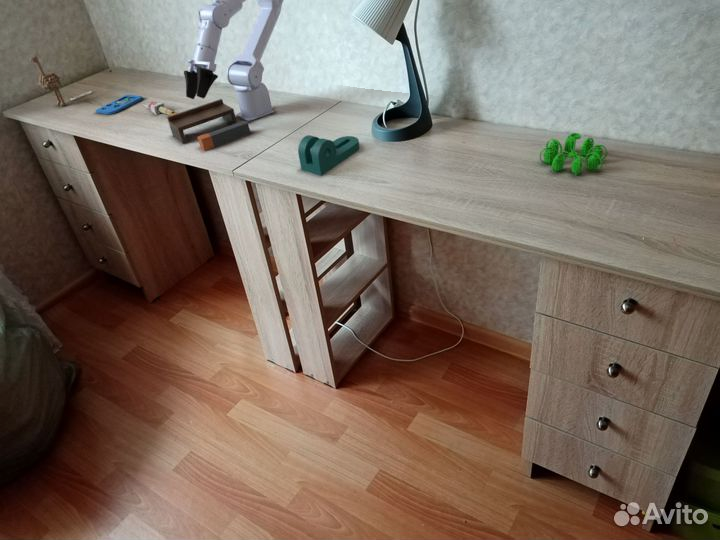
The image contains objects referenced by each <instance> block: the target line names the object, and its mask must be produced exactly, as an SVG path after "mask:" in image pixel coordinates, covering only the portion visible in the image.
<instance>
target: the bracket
mask: <svg viewBox="0 0 720 540" xmlns="http://www.w3.org/2000/svg"><path fill="white" fill-rule="evenodd" d="M359 150H360V139H359V138H358V137H356V136H352V135H345V136H341V137H338V138H336V139H334V140H331V139H326V138H322V137H321V138H320V137H318V136H315V135H309V134H307V135H305V136H303V137H302V139H301V140H300V142H299V144H298V149H297V153H298V154H297V155H298V160H299V165H300V170H301V171H302V172H307V173H311V174H314V175H317V176H321V177H322V176H324V175H325V174H326V173H329V172H330V171H331V170H332V169H333V168H335V167H337V166H338V165H340V164H341V163H343V162H344V161H346V160H347V159H349V158H350V157H351V156H353V155H354V154H356V153H358V152H359Z"/></svg>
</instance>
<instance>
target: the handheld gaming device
mask: <svg viewBox="0 0 720 540" xmlns="http://www.w3.org/2000/svg"><path fill="white" fill-rule="evenodd" d="M143 99H144V98H143V96H142V95H135V94H124V95H123V96H121V97H119V98H117V99H115V100H113V101H111V102H109V103H107V104H104V105H103V106H100V107H99V108H97V109H96V110H95V112H96V113H97V114H103V115H104V114H105V115H113V114H116V113H119V112H121V111H122V110H124V109H126V108H128V107H130V106H132V105H135V104H136V103H138V102H139V101H142V100H143Z"/></svg>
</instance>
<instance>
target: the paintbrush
mask: <svg viewBox="0 0 720 540" xmlns="http://www.w3.org/2000/svg"><path fill="white" fill-rule="evenodd" d="M141 105H142V106H143V107H144V108H146V109H148V110H149V111H150V112H152V113H153V114H155V115H157V116H158V115H160V114H165V115H167V116H172V115H174V114H177V113H178V112H177V111H174V110H172V109H169V108H167V107H165V103H164V102H161V101H160V102H157V101H146V102H144V103H141Z"/></svg>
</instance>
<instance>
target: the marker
mask: <svg viewBox="0 0 720 540" xmlns="http://www.w3.org/2000/svg"><path fill="white" fill-rule="evenodd" d="M250 134H251V129H250V125H249V121H246V120H242V121H239V122H238V121H237V123H236V124H233V125H232V124H231V125H227V126H225V127H222V128H220V129H216V130H214V131H211V132H209V133H208V132H207V133H204V134H201V135H198V136H197V140H198V143H199V147H200V149H201V150H203V151H204V152H206V151H208V150H211V149H213V148H215V147H218V146H221V145H223V144H227V143H229V142H232V141H234V140H238V139H240V138H242V137H245V136H247V135H250Z"/></svg>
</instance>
